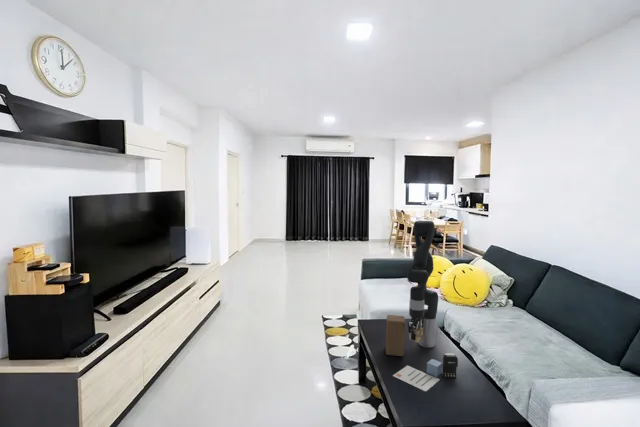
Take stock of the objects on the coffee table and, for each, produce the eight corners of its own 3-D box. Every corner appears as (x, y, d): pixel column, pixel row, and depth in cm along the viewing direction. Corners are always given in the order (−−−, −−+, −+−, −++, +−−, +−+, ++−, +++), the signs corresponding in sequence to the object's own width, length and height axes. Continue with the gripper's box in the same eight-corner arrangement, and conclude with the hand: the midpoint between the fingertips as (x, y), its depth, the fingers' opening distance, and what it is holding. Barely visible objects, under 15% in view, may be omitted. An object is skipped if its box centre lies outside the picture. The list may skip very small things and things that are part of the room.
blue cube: (431, 368, 179) (432, 358, 179) (441, 373, 175) (442, 362, 175) (426, 372, 175) (427, 362, 175) (436, 377, 171) (437, 366, 171)
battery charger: (443, 379, 170) (444, 356, 169) (441, 374, 174) (442, 353, 173) (458, 379, 170) (459, 357, 169) (455, 375, 173) (456, 353, 172)
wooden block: (403, 357, 191) (405, 322, 189) (385, 355, 192) (386, 320, 191) (403, 348, 200) (404, 315, 199) (385, 347, 202) (386, 313, 201)
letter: (407, 365, 182) (407, 365, 182) (439, 379, 169) (439, 379, 169) (392, 375, 172) (392, 375, 172) (425, 391, 159) (425, 391, 159)
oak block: (413, 336, 185) (414, 325, 184) (422, 339, 181) (422, 328, 180) (409, 339, 181) (409, 328, 180) (417, 342, 178) (418, 331, 177)
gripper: (417, 301, 187) (416, 331, 189) (403, 308, 177) (402, 340, 178) (430, 305, 182) (429, 336, 183) (416, 312, 171) (415, 345, 173)
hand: (415, 338), depth 181 cm, fingers closed on oak block, 5 cm apart
